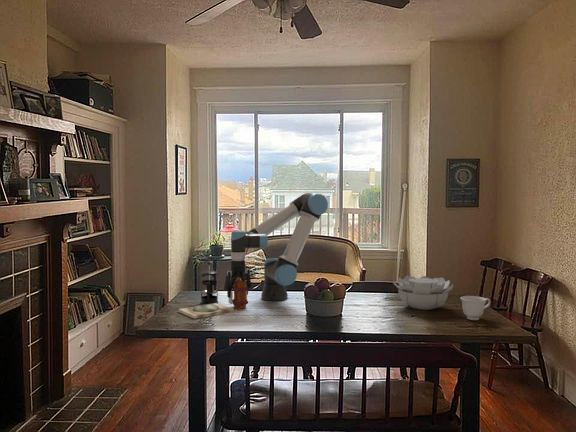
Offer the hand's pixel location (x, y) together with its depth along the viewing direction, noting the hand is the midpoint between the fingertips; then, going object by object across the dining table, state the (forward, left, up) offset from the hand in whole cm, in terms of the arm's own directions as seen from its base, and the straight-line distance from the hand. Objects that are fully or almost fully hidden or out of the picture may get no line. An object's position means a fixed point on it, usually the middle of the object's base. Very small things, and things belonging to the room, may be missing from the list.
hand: (237, 302), depth 266 cm
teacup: (-78, +91, -3) cm, 120 cm away
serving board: (+19, -1, -3) cm, 19 cm away
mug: (-1, 0, -3) cm, 3 cm away
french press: (+7, -18, -3) cm, 19 cm away
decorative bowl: (-76, +61, -3) cm, 98 cm away
